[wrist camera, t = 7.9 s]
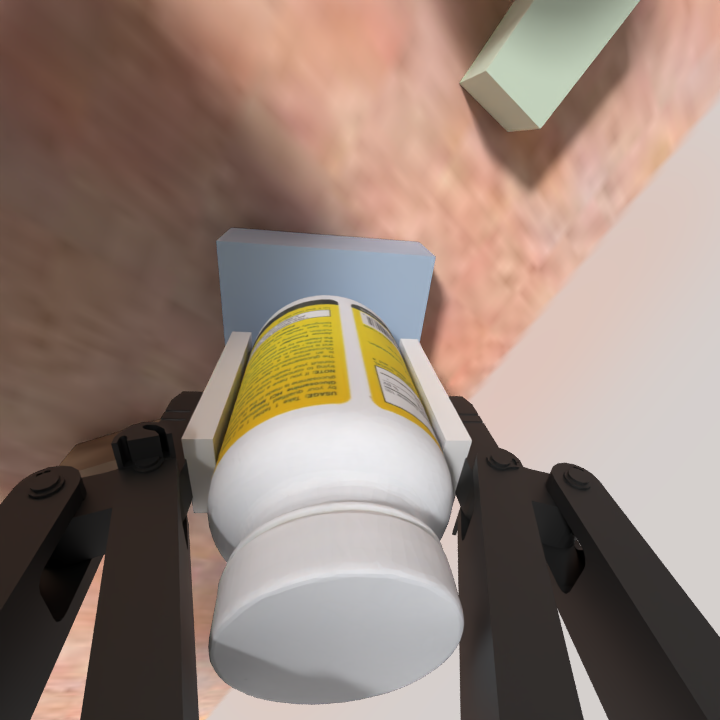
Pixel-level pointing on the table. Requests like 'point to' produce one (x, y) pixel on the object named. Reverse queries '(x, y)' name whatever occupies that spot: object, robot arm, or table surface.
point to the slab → (321, 277)
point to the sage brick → (540, 57)
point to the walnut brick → (93, 456)
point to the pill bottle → (330, 516)
